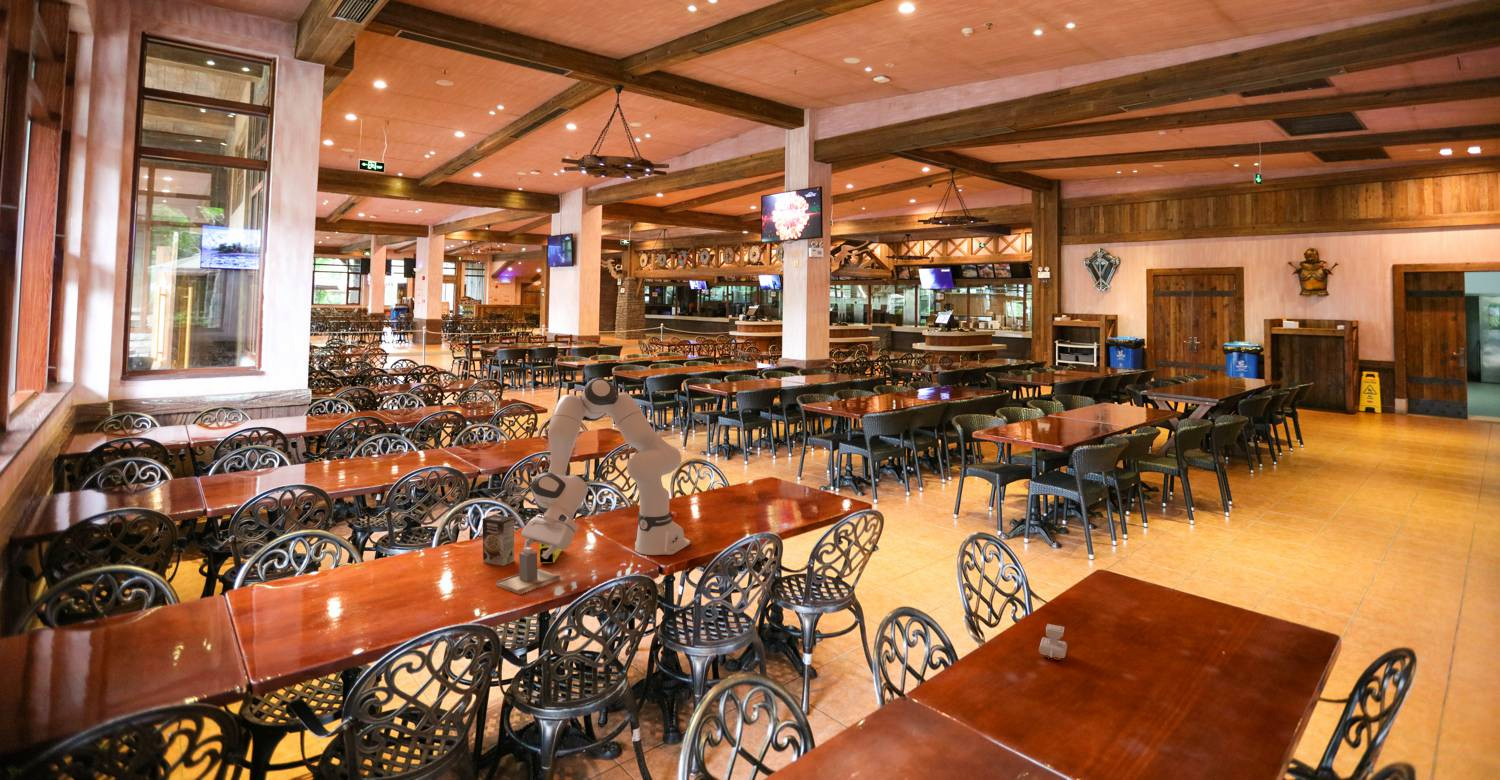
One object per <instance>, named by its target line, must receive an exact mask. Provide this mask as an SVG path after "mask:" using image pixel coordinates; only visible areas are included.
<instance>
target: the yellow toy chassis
mask: <svg viewBox="0 0 1500 780" xmlns="http://www.w3.org/2000/svg"><path fill="white" fill-rule="evenodd" d="M538 546H539V547H538V548H539V552H538V553H539V554H538V556H539V557H538V558H539V561H538V563H539V564H541V563H542V564H545V565H549V564H554V563H555V562H556V560H557V559H558V558H559V557H560V555H561V552H562V551H563V550H561V549H558V548H557V549H556V551H555V552H553V553H552V554H550V555H549V557H548V558H547V559H545V558H543V557H541V555H542V554H543V552H544V551H545V552H546V551H547V550H548V549H549V546H547V545H544V544H540V543H539V545H538Z"/></svg>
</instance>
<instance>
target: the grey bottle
mask: <svg viewBox="0 0 1500 780" xmlns="http://www.w3.org/2000/svg"><path fill="white" fill-rule="evenodd" d="M523 548H524V547H523ZM518 556H519V557H518V558H519V559H518V560H519V563H518V565H519V566H518V567H519V569H518V570H519V572H518V574H520V580H522V581H524V582H527V583H528V582H530V581H533V580H536V579H537V568H538V552H537V551H534V550H533V547H531V546H530V547H526V548H524V552H523V551H522V552H519V553H518Z"/></svg>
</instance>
